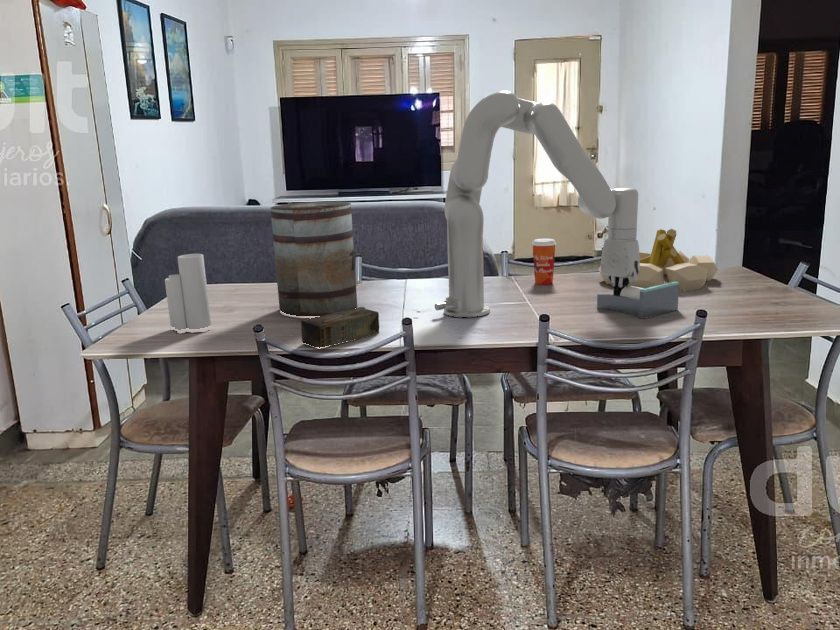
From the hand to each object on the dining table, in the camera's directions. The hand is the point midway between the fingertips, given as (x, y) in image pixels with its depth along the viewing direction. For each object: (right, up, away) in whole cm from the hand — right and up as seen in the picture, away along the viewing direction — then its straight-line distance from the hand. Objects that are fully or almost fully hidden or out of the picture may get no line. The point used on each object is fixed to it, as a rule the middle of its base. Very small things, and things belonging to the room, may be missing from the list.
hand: (619, 300), depth 199 cm
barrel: (-85, -3, +11) cm, 85 cm away
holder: (+3, -2, -5) cm, 6 cm away
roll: (+4, -3, -6) cm, 8 cm away
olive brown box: (-75, -10, -21) cm, 78 cm away
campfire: (+20, +6, +30) cm, 37 cm away
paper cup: (-15, +6, +33) cm, 37 cm away
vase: (-116, -8, -7) cm, 117 cm away
